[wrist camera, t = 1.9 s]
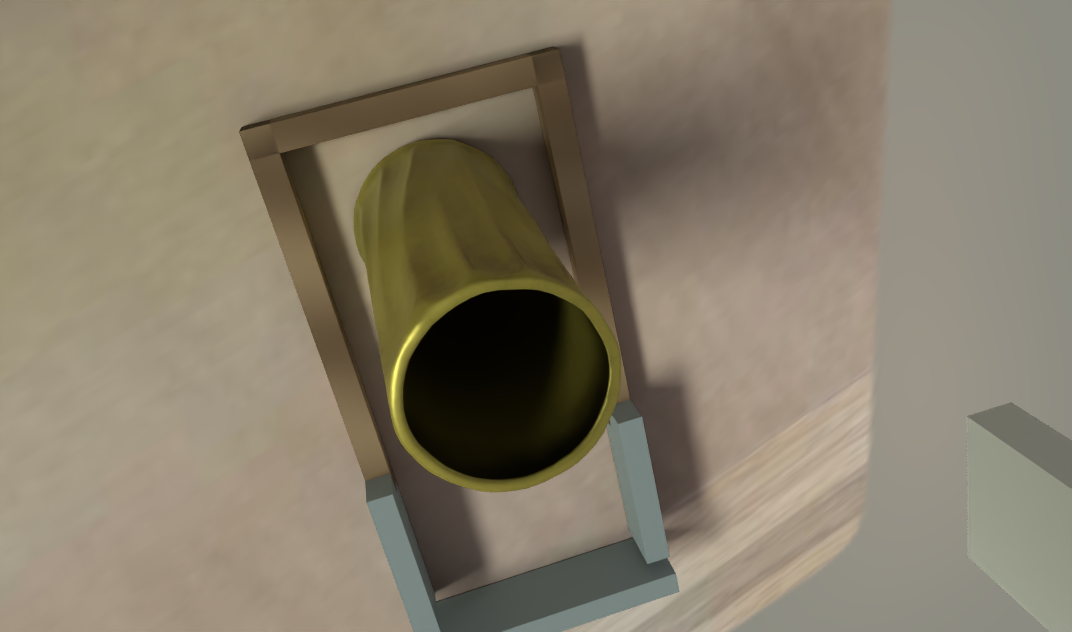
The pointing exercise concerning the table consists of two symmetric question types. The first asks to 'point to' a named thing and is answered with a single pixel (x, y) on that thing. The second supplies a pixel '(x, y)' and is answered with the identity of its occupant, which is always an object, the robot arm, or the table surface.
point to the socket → (552, 591)
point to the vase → (479, 323)
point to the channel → (393, 107)
